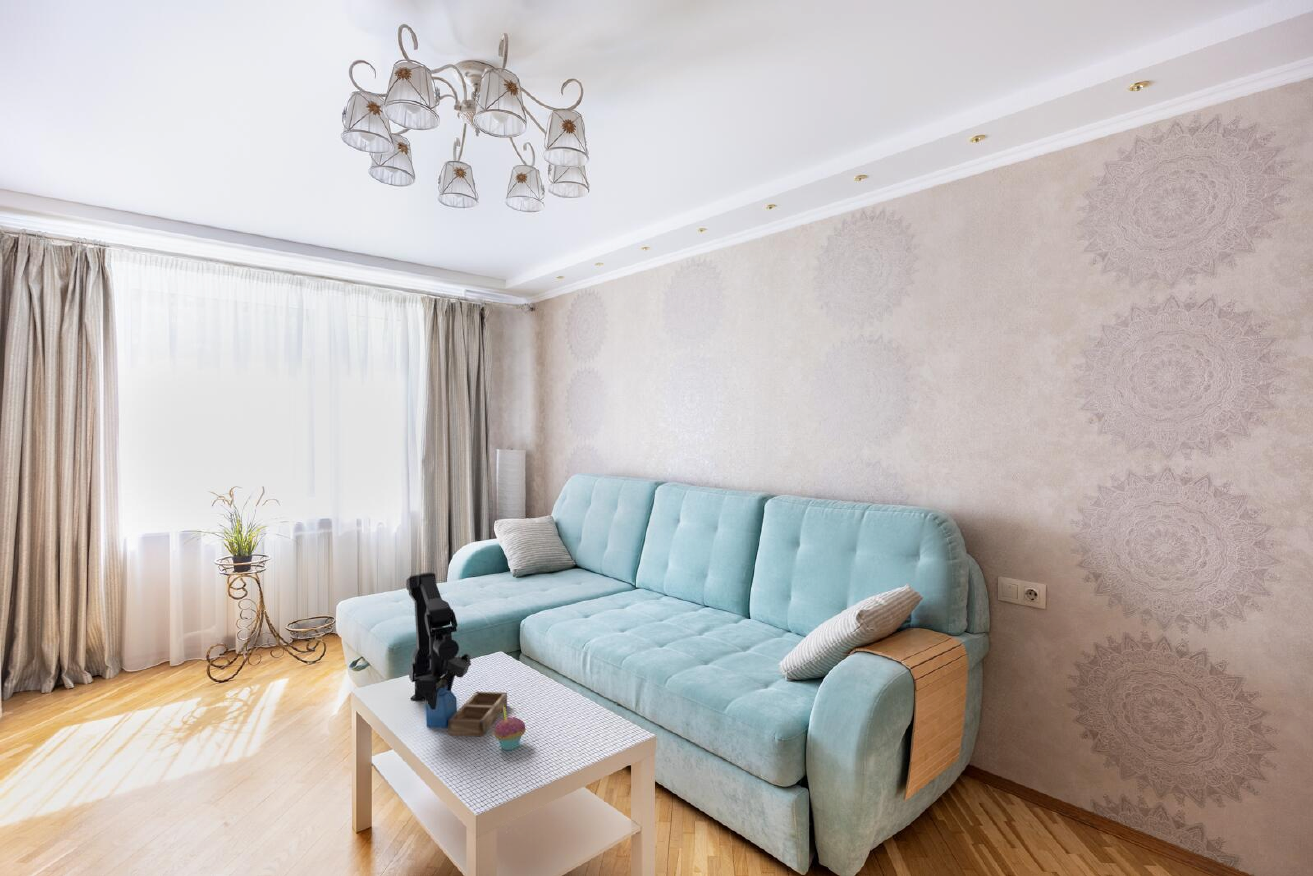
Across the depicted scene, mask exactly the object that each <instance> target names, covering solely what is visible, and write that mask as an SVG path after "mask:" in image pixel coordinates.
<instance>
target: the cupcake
mask: <svg viewBox="0 0 1313 876" xmlns="http://www.w3.org/2000/svg"><path fill="white" fill-rule="evenodd" d="M502 713H503V719H501V720H500V721H498V722H497V723H496V724H495V726H493V727H494V728H493V736H494V738H495V739H497V740H498V741H499V746H500V748H501V749H502V750H504V751H512V750H515V749H517V748H518V747H519V746H520V742H521V738H522V736H523V735H525V733H526V730H527V729H526V724H525V722H524V721H523V720H522V719H520V718H518V717H508V715H507V710H506V707H504V705H503V711H502Z"/></svg>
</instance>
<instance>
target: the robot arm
mask: <svg viewBox="0 0 1313 876" xmlns="http://www.w3.org/2000/svg"><path fill="white" fill-rule="evenodd" d="M436 575H437V574H436V573H435V572H432V571H430V572H421V573H418V574H411V575H410V576H409V577H408V578H406V582H405V584H406V590H407V591H408V595H409V597H410V598H411V599H412V601H413V602H414V617H415V619H414V620H415V634H416V637H415V638H416V648H415V651H414V652H413V655H412V656H411V660H412V662H411V663H410V666H409V669H408V678H409V680H410V681H411V683H414V694H413V695H412V696H410V700H412V701H413V700H414V701H426V703H428V704H429V706H430V708H431V709H433V710H434V709H435V708H436V701H437V692H438V691H439V690H440V689H441V688H442V686H441V684H442V680H446V681H447V683H446V684H447V690H446V691H452V688H453V685H454V681H455V678H456V677H457V678H460V679H461V678H463V677H465V675H466V674H467V673H468V670H469V667H470V666H471V665H472V663H471V662H472V661H471V656H470V654H469V653H464V654H463V655H462V656H457V655H458V653H459V650H460V646H459V644H458V642H457V641H456V639H454V638H453V636H452V633H456V632H457V628H458V621H457V617H456V613H455V612H454V609H453V608H451V606H450V604H449V602H448V601H446V600H443V598H442V596H441V592H440V590H439V588H438V585H437V577H436ZM455 676H456V677H455Z"/></svg>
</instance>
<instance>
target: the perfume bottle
mask: <svg viewBox="0 0 1313 876" xmlns="http://www.w3.org/2000/svg"><path fill="white" fill-rule="evenodd" d="M446 683H447V681H446V680H442V684H441V686H442V688H441V689H440V690H439V691H438V692H437V701H436V708H435V709H434V710H433V709H431V708H430V706H429V704H428V702H426V705H425V708H426V709H425V710H426V712H425V714H426V715H425V716H426V717H425V719H426V723H425V724H426V727H429V728H437V729H439V728H440V729H447V728H449V724H448V721H449V720H450V719H451V718H452V717H453V716H454V714H455V713H456V712H457V711H458V709H457V705H458V704H457V703H458V702H457V701H458V700H457V698H458V697H457V696H456V695H455V694H454V693H453V691H452V690H451V691H446V690H447V684H446Z"/></svg>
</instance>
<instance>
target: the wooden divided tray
mask: <svg viewBox="0 0 1313 876" xmlns="http://www.w3.org/2000/svg"><path fill="white" fill-rule="evenodd" d="M503 705H504V707H505V708H506V707H507V706H508V692H503V691H502V692H501V691H500V692H498V691H497V692H496V691H475V692H474V694H473V695H471V697H469V699H468V700H467V701H466V702H464V704H463V705H462V706H461V707H460V708H459V709H457V712H456V713H455V714H454V716H453V717H452V718H451V719H450V720H449V721H448V724H449V726H448V736H464V737H465V736H466V737H468V736H469V737H483V736H484V735H485V734H486V733H485V732H487V731H488V730H489V729H490V728H491V726H492V725H493V724H494V723H495V722H496V720H497V719H498V718H499V716H500V715H501V714H502V713H503ZM506 705H507V706H506ZM499 714H500V715H499Z"/></svg>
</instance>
